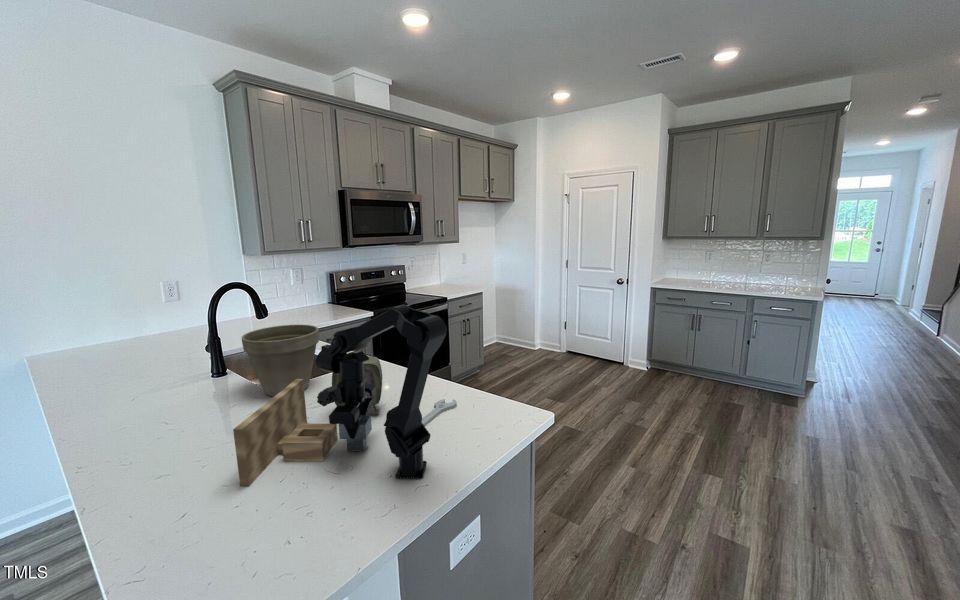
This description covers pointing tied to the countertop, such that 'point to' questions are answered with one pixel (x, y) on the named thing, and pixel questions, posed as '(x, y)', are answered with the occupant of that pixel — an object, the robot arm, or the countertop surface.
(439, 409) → the adjustable wrench
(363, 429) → the grey rectangular block
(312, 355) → the plant pot
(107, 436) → the countertop surface
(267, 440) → the wooden desk organizer
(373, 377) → the tabletop clock
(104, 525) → the countertop surface
